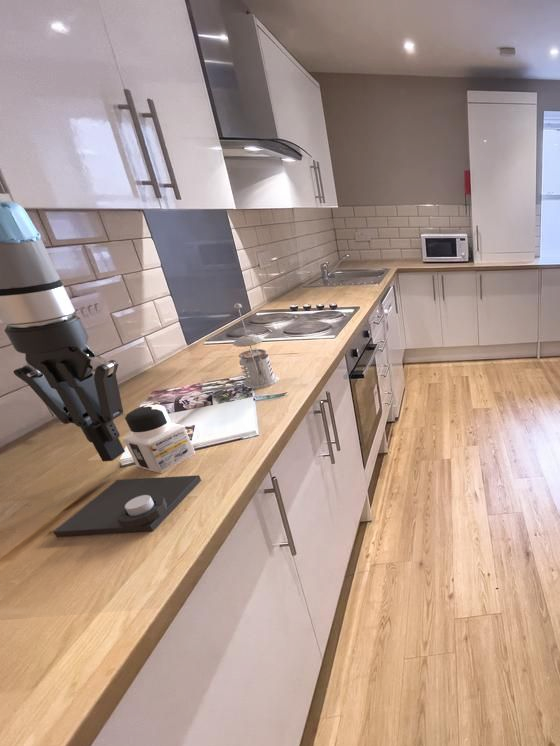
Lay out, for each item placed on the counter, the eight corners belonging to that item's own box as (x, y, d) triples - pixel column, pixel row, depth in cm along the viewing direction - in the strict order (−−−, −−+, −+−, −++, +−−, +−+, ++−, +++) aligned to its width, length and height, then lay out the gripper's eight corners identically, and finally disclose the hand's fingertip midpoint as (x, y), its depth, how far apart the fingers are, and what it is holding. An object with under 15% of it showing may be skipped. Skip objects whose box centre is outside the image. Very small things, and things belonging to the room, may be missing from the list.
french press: (274, 373, 134) (252, 297, 123) (283, 384, 126) (261, 304, 115) (240, 381, 128) (214, 303, 117) (247, 394, 120) (220, 311, 109)
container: (160, 474, 87) (135, 421, 81) (136, 467, 89) (110, 415, 83) (196, 454, 93) (175, 403, 88) (173, 448, 95) (151, 398, 90)
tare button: (123, 517, 72) (119, 509, 71) (138, 503, 75) (134, 495, 74) (145, 515, 72) (141, 508, 71) (159, 501, 75) (155, 494, 74)
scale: (55, 538, 71) (46, 525, 69) (120, 485, 84) (113, 473, 82) (153, 532, 72) (146, 519, 70) (202, 480, 85) (197, 468, 83)
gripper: (111, 311, 62) (170, 441, 72) (19, 314, 61) (91, 445, 71) (66, 326, 55) (138, 467, 65) (-38, 329, 54) (51, 472, 65)
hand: (114, 456), depth 68 cm, fingers closed
